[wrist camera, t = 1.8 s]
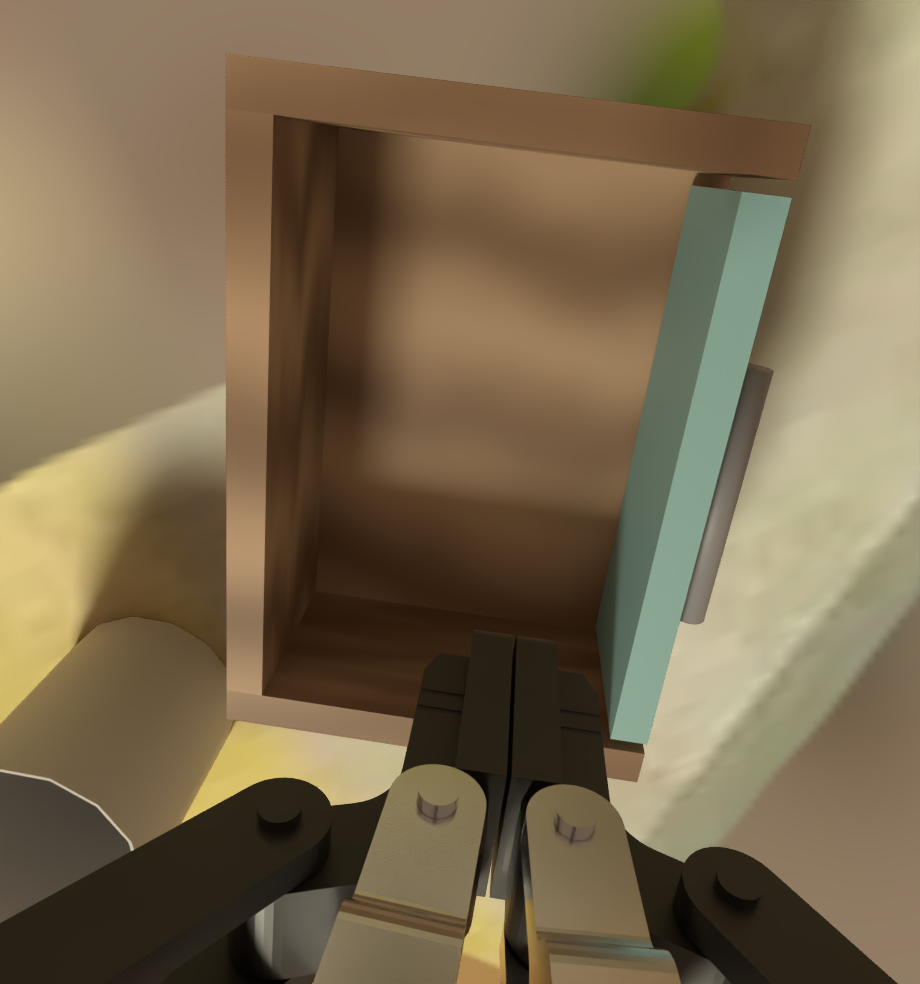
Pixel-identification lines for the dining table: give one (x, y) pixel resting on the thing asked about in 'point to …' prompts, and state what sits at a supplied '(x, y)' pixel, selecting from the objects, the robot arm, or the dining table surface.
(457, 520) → the box
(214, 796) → the dining table surface
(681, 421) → the panel
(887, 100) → the dining table surface
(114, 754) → the cup
